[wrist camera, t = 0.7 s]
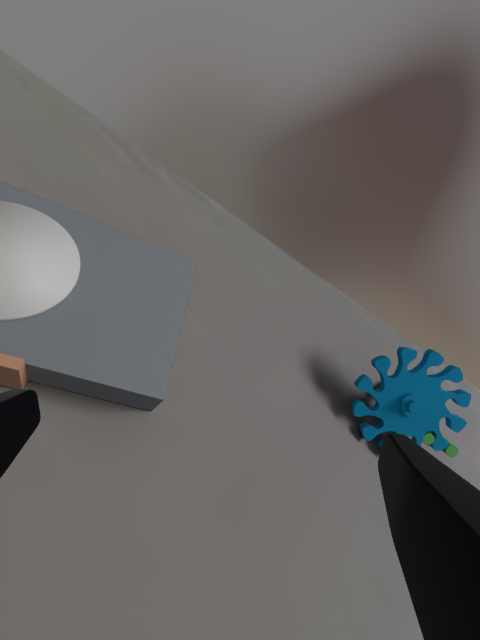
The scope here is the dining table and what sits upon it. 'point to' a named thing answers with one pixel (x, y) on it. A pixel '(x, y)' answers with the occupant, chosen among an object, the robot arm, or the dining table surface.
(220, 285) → the dining table surface
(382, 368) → the gear
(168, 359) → the dock unit
